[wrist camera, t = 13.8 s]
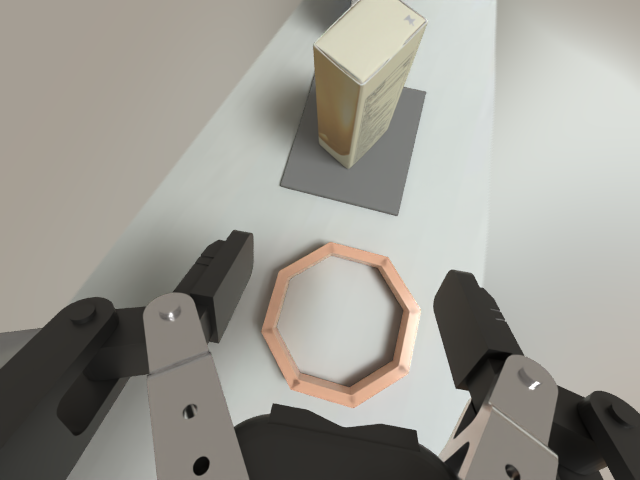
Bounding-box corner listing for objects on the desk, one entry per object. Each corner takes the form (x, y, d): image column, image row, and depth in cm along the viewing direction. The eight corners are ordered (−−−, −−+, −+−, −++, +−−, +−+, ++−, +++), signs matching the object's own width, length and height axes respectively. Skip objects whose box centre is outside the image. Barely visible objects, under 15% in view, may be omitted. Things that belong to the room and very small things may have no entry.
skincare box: (357, 105, 30) (380, -24, 18) (388, 130, 29) (434, 16, 17) (315, 145, 29) (309, 40, 17) (346, 173, 28) (363, 84, 16)
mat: (281, 186, 28) (280, 185, 28) (317, 70, 31) (317, 67, 30) (397, 215, 28) (398, 214, 27) (424, 94, 30) (426, 91, 30)
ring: (253, 370, 25) (247, 376, 23) (293, 235, 28) (290, 231, 26) (392, 411, 24) (398, 421, 23) (421, 269, 27) (429, 268, 25)
